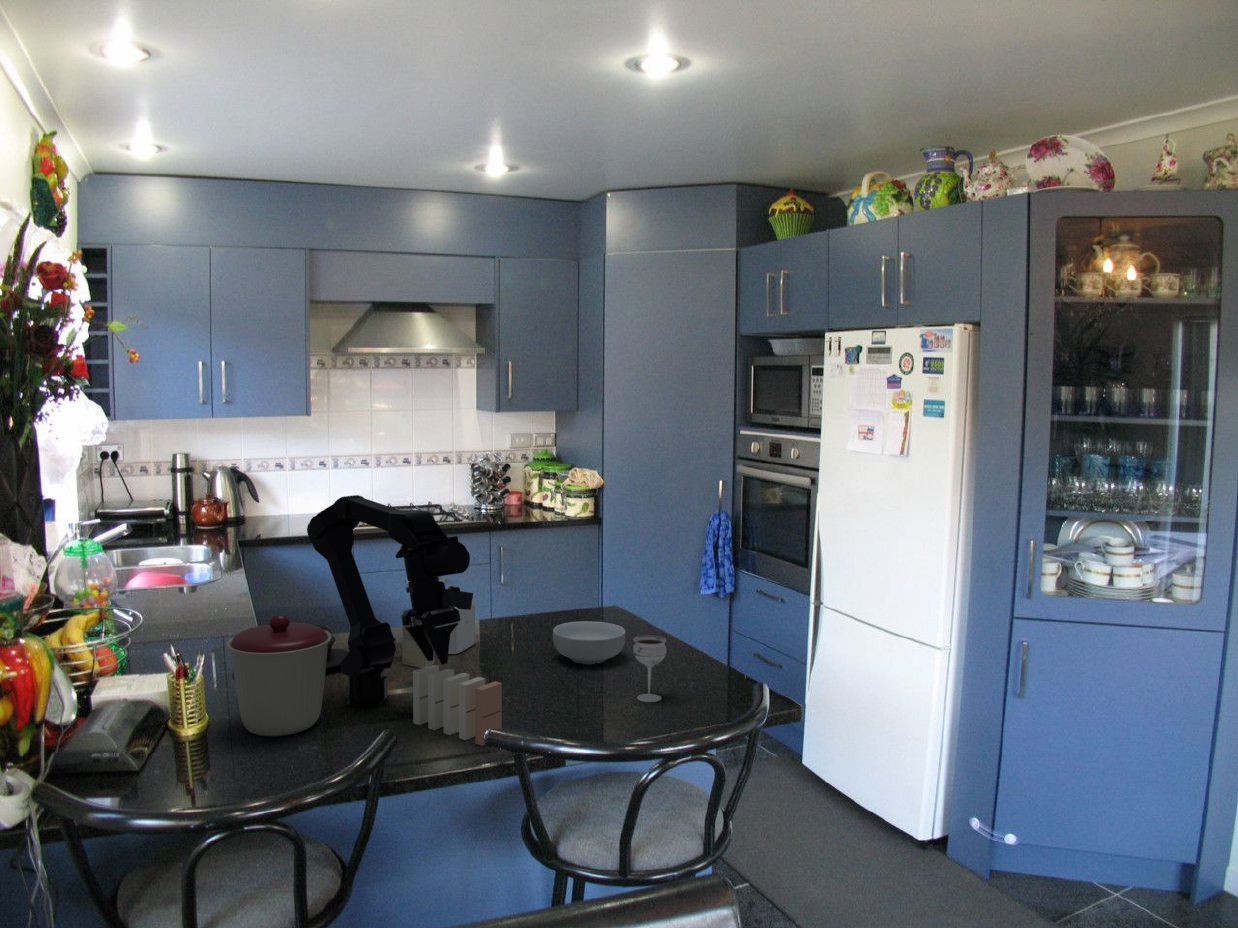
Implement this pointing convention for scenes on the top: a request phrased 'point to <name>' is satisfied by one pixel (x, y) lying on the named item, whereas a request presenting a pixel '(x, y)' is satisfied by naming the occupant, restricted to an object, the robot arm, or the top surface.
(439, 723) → the domino
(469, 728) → the domino
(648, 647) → the wineglass
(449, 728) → the domino
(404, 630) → the skincare box
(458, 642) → the photo printer
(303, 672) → the canister
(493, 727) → the domino
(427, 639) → the robot arm
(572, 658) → the cereal bowl
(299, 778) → the top surface
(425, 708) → the domino
